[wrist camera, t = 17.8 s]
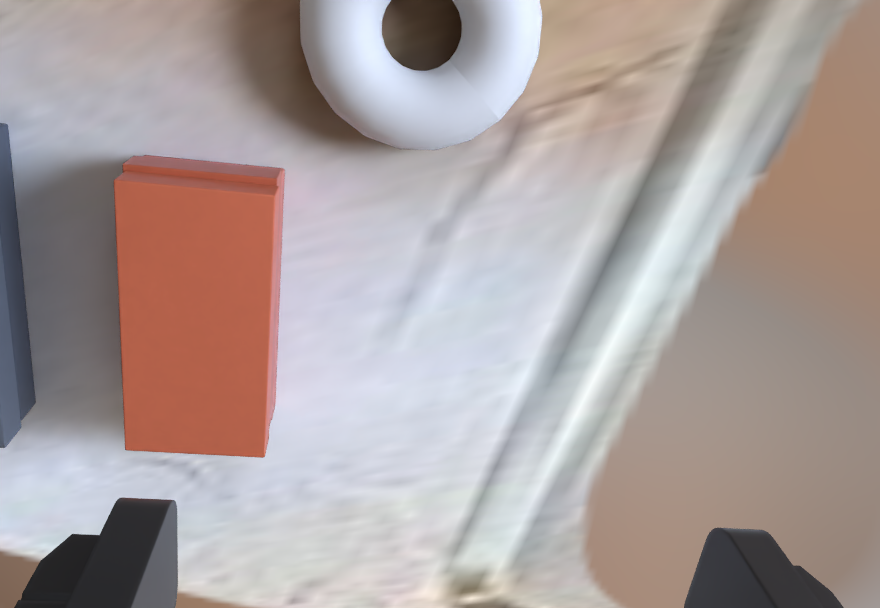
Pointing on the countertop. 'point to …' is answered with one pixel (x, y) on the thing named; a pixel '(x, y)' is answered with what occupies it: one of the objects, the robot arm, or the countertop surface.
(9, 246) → the grey rectangular block
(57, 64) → the countertop surface
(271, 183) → the orange-red flat block
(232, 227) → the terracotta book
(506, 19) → the donut
